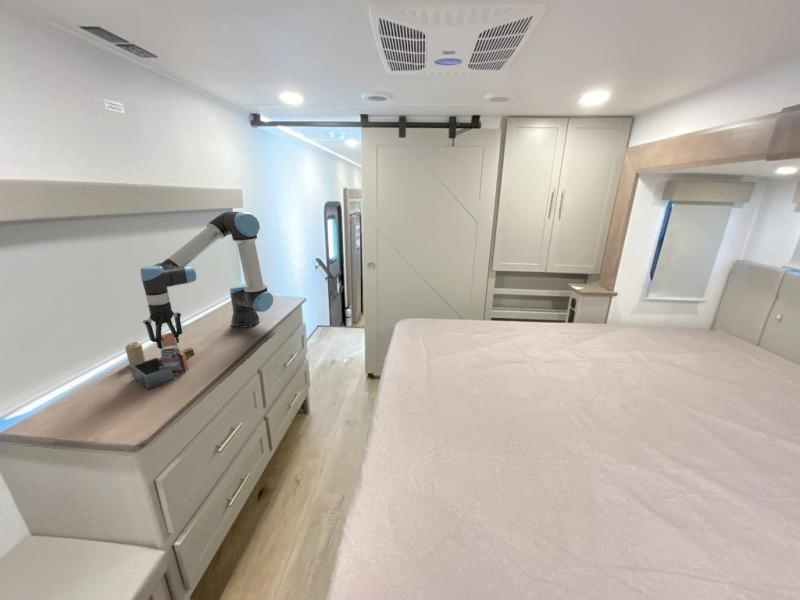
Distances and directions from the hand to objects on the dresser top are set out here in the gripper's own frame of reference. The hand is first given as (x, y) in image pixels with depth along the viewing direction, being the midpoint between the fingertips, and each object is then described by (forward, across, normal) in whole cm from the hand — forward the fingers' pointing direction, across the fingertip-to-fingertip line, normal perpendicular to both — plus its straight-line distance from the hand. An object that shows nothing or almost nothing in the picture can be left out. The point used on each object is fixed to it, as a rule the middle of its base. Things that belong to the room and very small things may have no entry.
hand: (170, 352), depth 139 cm
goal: (+5, +10, +11) cm, 16 cm away
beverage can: (+5, +4, +12) cm, 13 cm away
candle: (+5, +10, -10) cm, 15 cm away
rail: (+5, 0, 0) cm, 5 cm away
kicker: (+4, 0, +6) cm, 7 cm away
